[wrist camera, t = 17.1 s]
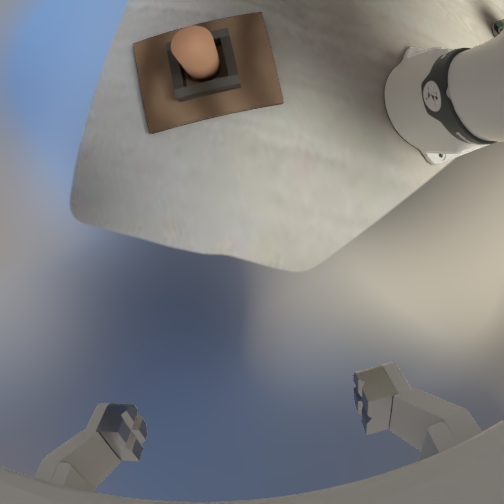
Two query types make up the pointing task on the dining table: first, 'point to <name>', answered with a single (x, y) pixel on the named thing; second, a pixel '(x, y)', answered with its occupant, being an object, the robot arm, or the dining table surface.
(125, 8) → the dining table surface
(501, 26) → the lotion bottle
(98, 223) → the dining table surface
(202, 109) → the collar stand
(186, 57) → the peg
